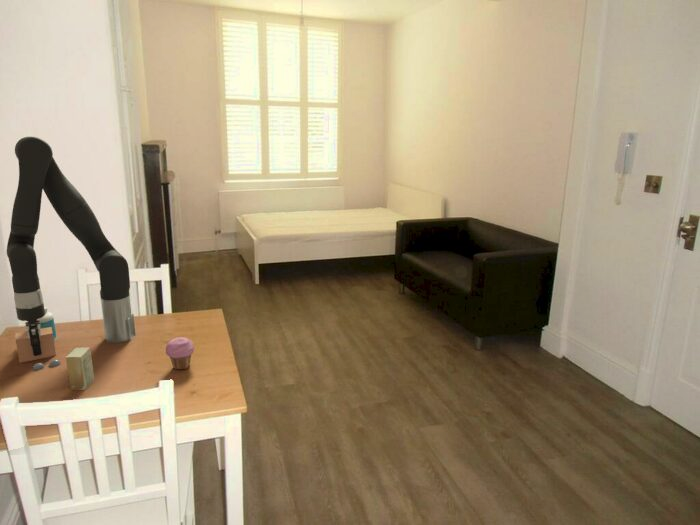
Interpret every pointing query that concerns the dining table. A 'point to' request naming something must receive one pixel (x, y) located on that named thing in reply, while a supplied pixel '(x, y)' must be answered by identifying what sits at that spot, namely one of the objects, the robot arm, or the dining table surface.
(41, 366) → the marble
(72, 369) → the skincare box
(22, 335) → the tan wooden block
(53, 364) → the marble
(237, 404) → the dining table surface
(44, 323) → the pill bottle
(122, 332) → the robot arm
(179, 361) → the cupcake
